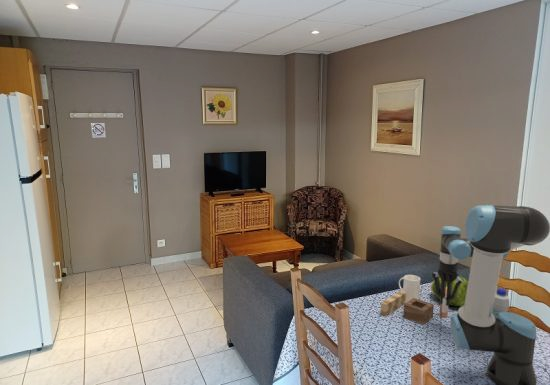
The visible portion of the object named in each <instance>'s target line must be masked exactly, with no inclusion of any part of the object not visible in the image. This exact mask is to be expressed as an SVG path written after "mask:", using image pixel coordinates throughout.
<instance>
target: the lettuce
mask: <svg viewBox="0 0 550 385" xmlns="http://www.w3.org/2000/svg"><path fill="white" fill-rule="evenodd" d="M458 277H459V278H460V279H463V282H462V283H461V284H460V286H459V289H458V292H457V294H456V297H455V298H454V299H451V300H450V305H451V306H453V307H462V306H464V304H465V298H466V292H467V286H468V280H467V279H466V278H465V277H463V276H461V275H459V274H458ZM439 281H440V287H441V278H440V276H439ZM456 283H457V282H456V279H455V280H454V281H453V283H452V293H453V290H454V287H455V285H456ZM446 287H447V282H446ZM430 290H431V292H432V293H434V295H435V296H436V298H438V299H439V300H440V299H441V297H440V296H439V295H437V293H436V287H435V281H434V280H433V281H432V282H431V284H430ZM452 293H451V295H452ZM450 305H449V306H450Z"/></svg>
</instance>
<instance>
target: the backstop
mask: <svg viewBox="0 0 550 385" xmlns="http://www.w3.org/2000/svg"><path fill="white" fill-rule="evenodd" d="M405 303H407V302H406V292H403V291H402V290H400V291H398V292H396V293H395V294H393V295H392V296H390V297H388V298H386V299H385V300H383V301H382V302H381V303H380V315H381V316H384V317H388V316H389V315H390V314H391V315H392V314H393V313H394V312H395V311H396V310H399V309H400V308H402V307H404V304H405Z"/></svg>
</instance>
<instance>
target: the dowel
mask: <svg viewBox="0 0 550 385" xmlns="http://www.w3.org/2000/svg"><path fill="white" fill-rule="evenodd" d="M446 296H447V287H446V292H445V297H446ZM439 300H440V301H441V299H439ZM438 316H439V317H440V318H443V319H446V318H448V316H449V308H448V309H447V312H446V313H444V312H442V304H441V303H440V302H439V314H438Z"/></svg>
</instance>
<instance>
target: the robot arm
mask: <svg viewBox="0 0 550 385" xmlns="http://www.w3.org/2000/svg"><path fill="white" fill-rule="evenodd" d="M464 228H465V230H464V232H465V236H466V237H465V238H464V237H461V236H462V231H461V228H459V227H458V226H451V225H445V226H443V227H442V229H441V234H440V249H439V250H440V251H439V252H440V253H439V262H438V270H437V271H435V272H433V273H432V274H431V275H432V278H433V281H435V287H436V293H437V295H439V296H440V297H441V301H440V302H439V304H440V303H441V304H442V312H444V313H446V312H447V309H448V310H449V306H450V300H451V299H454V298H455V297H456V294H457V292H458V289H459V286H460V284H461V283H462V282H463V279H460V278H459V277H458V275H459V273H458V268H459V267H458V266H459V263H458V262H459V260H461V261H463V260H465V259H467V258H471V259H472V260H471V262H470V269H469V275H468V280H467V281H468V286H467V292H466V298H465V304H464V306H459V308H458V311H457V314H456V313H455V314H452V315H451V316H450V319H449V320H450V330H451V336H452V340H453V343H454V345H455V346H456V347H457V348H458V349H459V350H460V349H461V350H466V351H468V352H469V351H475V352H477V351H478V352H486V353H487V352H488V353H493V355H492V356H491V359H490V360H489V362H488V364H487V366H486V375H487V378H488V379H489V380H490V381H491V382H492V383H494V384H495V385H537V376H536V373H535V369H534V364H533V362H534V355H535V346H536V339H537V327H536V324H535V323H534V322H533V321H531V320H530V319H528V318H527V317H525V316H523V315H520V314H517V313H515V312H509V311H508V312H500V313H498V315H497V318H495V317H494V315H493V314H492V309H493V304H494V299H495V294H497V290H498V284H499V278H500V274H501V268H502V263H503V259H506V258H507V257H508V255H509V253H510V252H512V251H514V250H516V249H519V248H521V247H524V246H535V245H537V244H540V243H542V242H544V241H545V240H546V239H547V238H548V236H549V234H550V222H549V220H548V218H547V217H546V215H545V214H543V213H542V212H541V211H540V210H538V209H536V208H533V207H530V206H524V205H523V206H522V205H519V206H516V205H492V204H486V205H479V204H478V205H476V206H474V207H473V208H471V209H470V210H469V212H468V214H467V217H466V219H465V225H464ZM439 276H440V278H441V287H440V281H439ZM455 279H456V282H457V283H456V285H455V287H454V290H453V293H452V283H453V281H454V280H455ZM446 282H447V296H446V297H445V292H446ZM451 293H452V295H451Z"/></svg>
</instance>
